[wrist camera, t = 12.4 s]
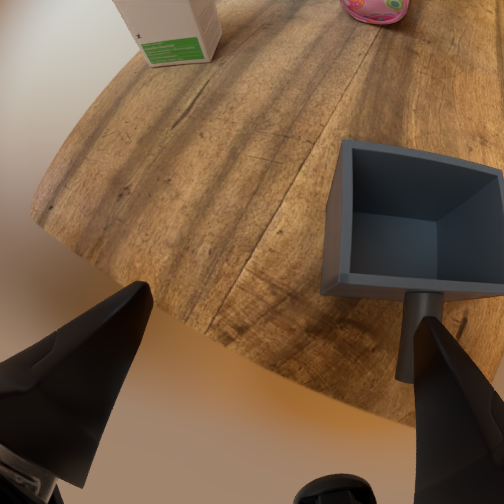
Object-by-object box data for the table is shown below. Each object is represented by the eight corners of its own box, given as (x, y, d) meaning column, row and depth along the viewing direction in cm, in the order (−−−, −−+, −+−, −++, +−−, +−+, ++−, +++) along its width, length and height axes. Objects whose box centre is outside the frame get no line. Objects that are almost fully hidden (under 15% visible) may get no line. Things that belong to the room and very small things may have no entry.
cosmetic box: (149, 69, 29) (91, -23, 14) (167, 37, 30) (123, -49, 15) (214, 63, 28) (170, -50, 13) (227, 30, 29) (195, -70, 14)
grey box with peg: (431, 357, 19) (504, 380, 10) (313, 353, 21) (325, 387, 11) (438, 219, 21) (502, 169, 12) (326, 205, 23) (342, 138, 13)
